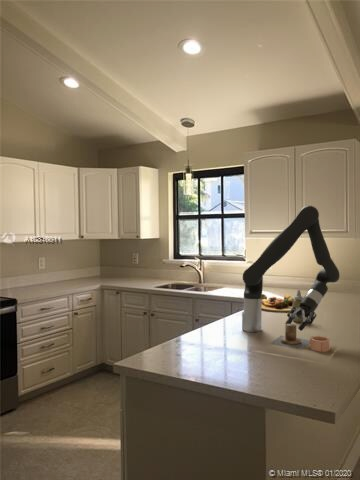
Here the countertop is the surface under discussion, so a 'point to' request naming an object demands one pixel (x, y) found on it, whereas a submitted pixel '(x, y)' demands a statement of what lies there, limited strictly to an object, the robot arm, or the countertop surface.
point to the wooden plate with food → (277, 304)
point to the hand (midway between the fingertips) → (293, 327)
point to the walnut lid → (290, 335)
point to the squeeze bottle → (297, 304)
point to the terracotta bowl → (320, 343)
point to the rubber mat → (299, 346)
